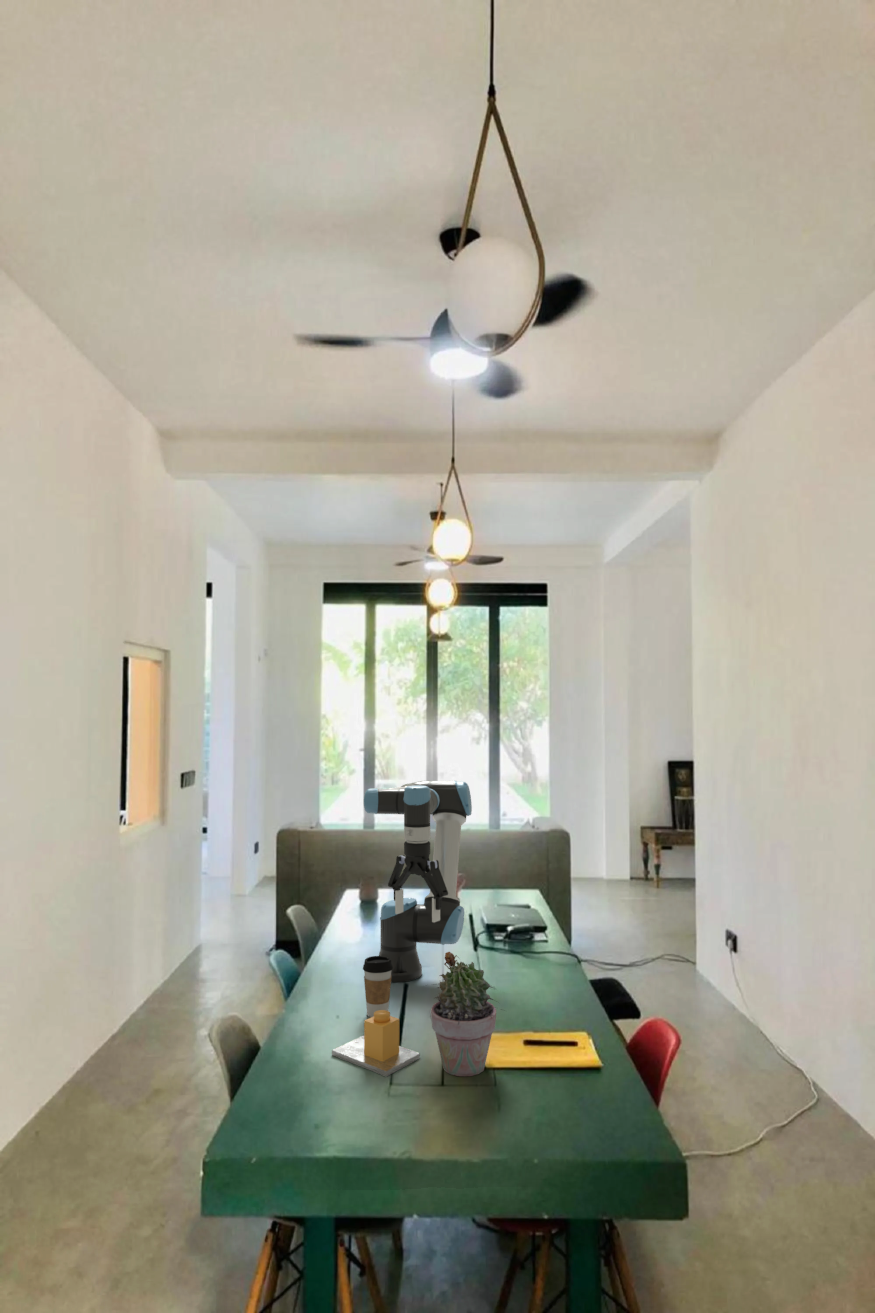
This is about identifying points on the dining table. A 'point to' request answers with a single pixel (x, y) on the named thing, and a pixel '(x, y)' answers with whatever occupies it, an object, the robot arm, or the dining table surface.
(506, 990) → the dining table surface
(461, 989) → the potted plant
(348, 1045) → the plate
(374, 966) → the coffee cup
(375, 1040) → the orange knobbed block
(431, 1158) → the dining table surface
